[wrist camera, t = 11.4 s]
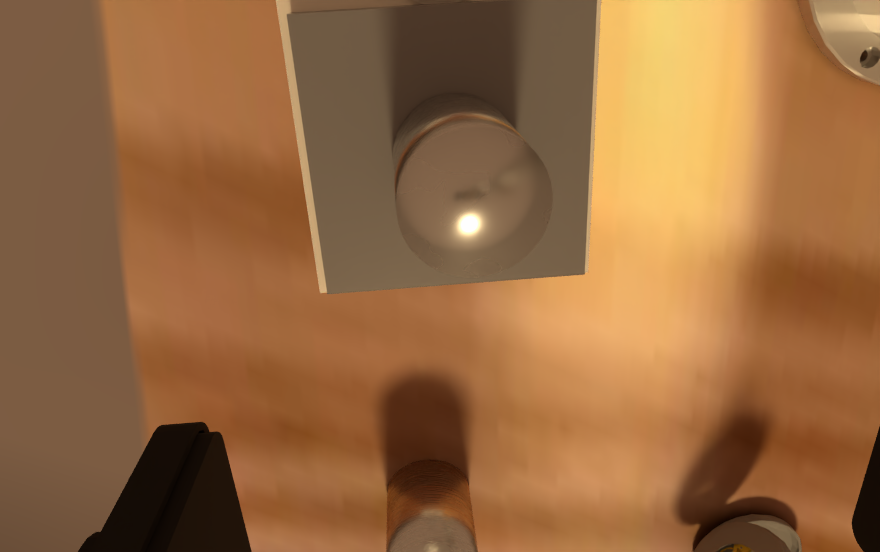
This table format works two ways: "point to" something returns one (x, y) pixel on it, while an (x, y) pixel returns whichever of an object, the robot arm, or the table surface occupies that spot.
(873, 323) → the table surface
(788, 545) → the pocket watch
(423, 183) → the cylinder
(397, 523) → the cylinder
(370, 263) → the scale
